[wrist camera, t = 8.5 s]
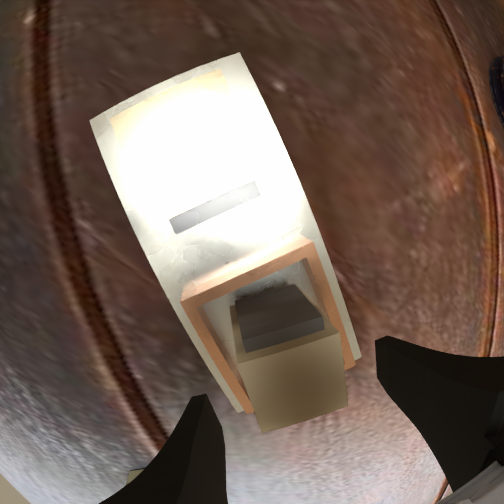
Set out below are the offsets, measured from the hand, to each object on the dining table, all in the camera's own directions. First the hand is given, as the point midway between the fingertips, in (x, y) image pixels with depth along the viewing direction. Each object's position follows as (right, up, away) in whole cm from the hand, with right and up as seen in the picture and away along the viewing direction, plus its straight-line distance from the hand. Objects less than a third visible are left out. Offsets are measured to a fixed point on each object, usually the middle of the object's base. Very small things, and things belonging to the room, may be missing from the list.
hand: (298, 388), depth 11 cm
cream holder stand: (-3, +6, +6) cm, 8 cm away
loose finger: (-1, +1, +6) cm, 6 cm away
